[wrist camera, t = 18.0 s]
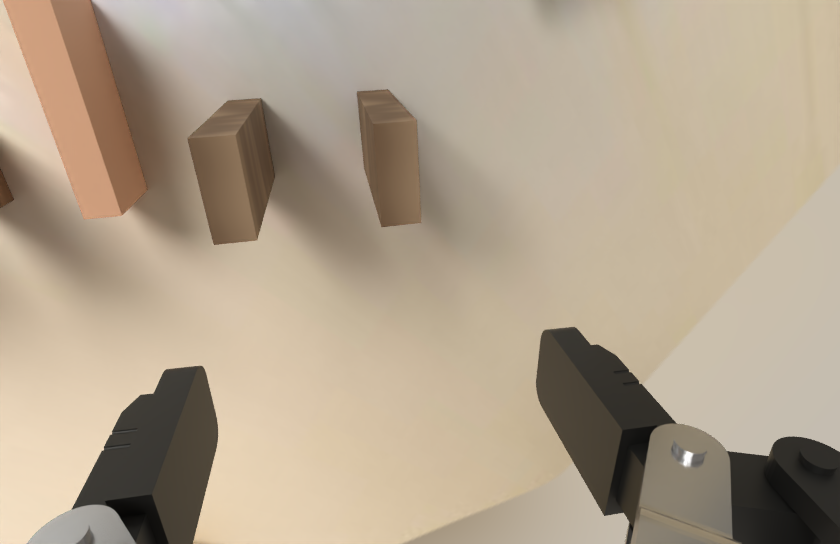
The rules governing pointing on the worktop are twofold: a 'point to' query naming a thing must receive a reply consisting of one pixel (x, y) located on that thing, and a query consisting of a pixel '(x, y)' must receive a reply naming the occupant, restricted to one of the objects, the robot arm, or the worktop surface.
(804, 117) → the worktop surface
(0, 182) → the domino
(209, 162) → the domino
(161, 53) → the worktop surface
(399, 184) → the domino
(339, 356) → the worktop surface
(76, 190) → the domino
